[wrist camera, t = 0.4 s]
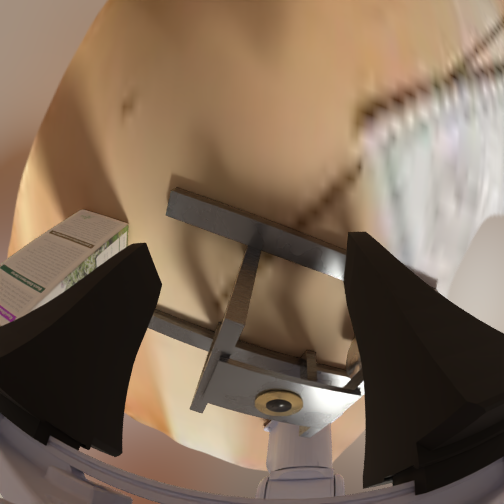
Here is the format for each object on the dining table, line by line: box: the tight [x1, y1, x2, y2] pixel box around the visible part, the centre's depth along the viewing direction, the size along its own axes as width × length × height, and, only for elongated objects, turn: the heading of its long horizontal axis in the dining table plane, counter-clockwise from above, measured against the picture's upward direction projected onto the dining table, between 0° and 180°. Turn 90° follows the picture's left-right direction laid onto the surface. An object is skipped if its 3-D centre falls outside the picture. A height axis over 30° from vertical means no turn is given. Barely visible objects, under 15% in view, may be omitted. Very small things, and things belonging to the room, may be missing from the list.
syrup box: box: [0, 209, 128, 326], centre depth 16 cm, size 6×6×14 cm
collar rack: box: [148, 187, 439, 438], centre depth 19 cm, size 14×24×10 cm, turn 71°
